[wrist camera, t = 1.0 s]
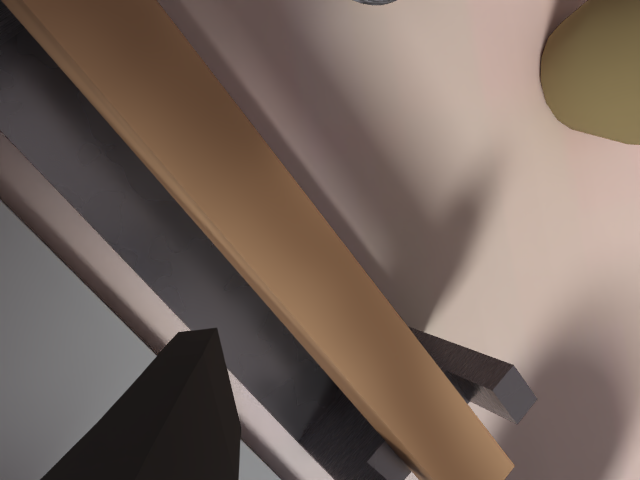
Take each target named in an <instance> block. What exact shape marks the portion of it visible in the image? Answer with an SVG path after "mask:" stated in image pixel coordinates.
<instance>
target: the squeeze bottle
mask: <svg viewBox="0 0 640 480" xmlns="http://www.w3.org/2000/svg"><path fill="white" fill-rule="evenodd" d="M541 84H542V88H543V92H544V96H545V100H546V103H547V105H548V106H549V108H550V109H551V111H552V112H553V114H554V115H555V117H556V118H557V120H558V121H560V122H561V123H563V124H564V125H566V126H567V127H569V128H570V129H572V130H576V131H580V132H584V133H587V134H591V135H595V136H599V137H602V138H606V139H610V140H614V141H618V142H621V143H625V144H634V145H640V0H588V1H586V2H585V3H584V4H583V5H582V6H581V7H579V8H578V9H577V10H576V11H575V12H573V13H572V14H571V15H570V16H569V17H567V18H566V19H565V20H564V21H563V22H562V23H560V25H559V26H558V27H557V28H556V29H555V30H554V32H553V33H552V34H551V35H550V36H549V37H548V40H547V43H546V46H545V49H544V52H543V54H542V57H541Z"/></svg>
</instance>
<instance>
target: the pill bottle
mask: <svg viewBox="0 0 640 480" xmlns="http://www.w3.org/2000/svg"><path fill="white" fill-rule="evenodd" d="M353 1H356V2H359V3H362V4H367V5H384V4H388V3H391V2H394V1H396V0H353Z"/></svg>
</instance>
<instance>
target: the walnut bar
mask: <svg viewBox="0 0 640 480" xmlns="http://www.w3.org/2000/svg"><path fill="white" fill-rule="evenodd" d="M1 1H2V2H3V3H4V4H5V5H6V6H7V8H8V9H9V10H10V11H11V12H12V13H13V14H14V16H15V17H16V18H17V19H18V20H19V21H20V22H21V24H22V25H23V26H24V27H25V28H26V29H27V30H28V32H29V33H30V34H31V35H32V36H33V37H34V39H35V40H36V41H37V42H38V43H39V44H40V45H41V47H42V48H43V49H44V50H45V51H46V52H47V53H48V55H49V56H50V57H51V58H52V59H53V60H54V61H55V63H56V64H57V65H58V66H59V67H60V68H61V69H62V71H63V72H64V73H65V74H66V75H67V76H68V78H69V79H70V80H71V81H72V82H73V83H74V84H75V86H76V87H77V88H78V89H79V90H80V91H81V92H82V94H83V95H84V96H85V97H86V98H87V99H88V100H89V102H90V103H91V104H92V105H93V106H94V107H95V108H96V110H97V111H98V112H99V113H100V114H101V115H102V117H103V118H104V119H105V120H106V121H107V122H108V123H109V125H110V126H111V127H112V128H113V129H114V130H115V131H116V133H117V134H118V135H119V136H120V137H121V138H122V139H123V141H124V142H125V143H126V144H127V145H128V146H129V147H130V149H131V150H132V151H133V152H134V153H135V154H136V156H137V157H138V158H139V159H140V160H141V161H142V162H143V164H144V165H145V166H146V167H147V168H148V169H149V170H150V172H151V173H152V174H153V175H154V176H155V177H156V178H157V180H158V181H159V182H160V183H161V184H162V185H163V186H164V188H165V189H166V190H167V191H168V192H169V193H170V195H171V196H172V197H173V198H174V199H175V200H176V201H177V203H178V204H179V205H180V206H181V207H182V208H183V209H184V211H185V212H186V213H187V214H188V215H189V216H190V217H191V219H192V220H193V221H194V222H195V223H196V224H197V225H198V227H199V228H200V229H201V230H202V231H203V232H204V234H205V235H206V236H207V237H208V238H209V239H210V240H211V242H212V243H213V244H214V245H215V246H216V247H217V248H218V250H219V251H220V252H221V253H222V254H223V255H224V256H225V258H226V259H227V260H228V261H229V262H230V263H231V264H232V266H233V267H234V268H235V269H236V270H237V271H238V273H239V274H240V275H241V276H242V277H243V278H244V279H245V281H246V282H247V283H248V284H249V285H250V286H251V287H252V289H253V290H254V291H255V292H256V293H257V294H258V295H259V297H260V298H261V299H262V300H263V301H264V302H265V303H266V305H267V306H268V307H269V308H270V309H271V310H272V312H273V313H274V314H275V315H276V316H277V317H278V318H279V320H280V321H281V322H282V323H283V324H284V325H285V326H286V328H287V329H288V330H289V331H290V332H291V333H292V334H293V336H294V337H295V338H296V339H297V340H298V341H299V342H300V344H301V345H302V346H303V347H304V348H305V349H306V351H307V352H308V353H309V354H310V355H311V356H312V357H313V359H314V360H315V361H316V362H317V363H318V364H319V365H320V367H321V368H322V369H323V370H324V371H325V372H326V373H327V375H328V376H329V377H330V378H331V379H332V380H333V381H334V383H335V384H336V385H337V386H338V387H339V388H340V390H341V391H342V392H343V393H344V394H345V395H346V396H347V398H348V399H349V400H350V401H351V402H352V403H353V404H354V406H355V407H356V408H357V409H358V410H359V411H360V412H361V414H362V415H363V416H364V417H365V418H366V419H367V420H368V422H369V423H370V424H371V425H372V426H373V427H374V429H375V430H376V431H377V432H378V433H379V434H380V435H381V437H382V438H383V439H384V440H385V441H386V442H387V443H388V445H389V446H390V447H391V448H392V449H393V450H394V451H395V453H396V454H397V455H398V456H399V457H400V458H401V459H402V461H403V462H404V463H405V464H406V465H407V466H408V468H409V469H410V470H411V471H412V472H413V473H414V474H415V476H416V477H417V478H418V479H419V480H504V479H505V478H506V477H507V476H508V474H509V473H510V472H511V470H512V469H513V468H514V466H515V465H514V464H513V463H512V461H511V460H510V459H509V458H508V456H507V455H506V454H505V452H504V451H503V450H502V448H501V447H500V446H499V445H498V443H497V442H496V441H495V439H494V438H493V437H492V435H491V434H490V433H489V432H488V430H487V429H486V428H485V426H484V425H483V424H482V422H481V421H480V420H479V419H478V417H477V416H476V415H475V413H474V412H473V411H472V409H471V408H470V407H469V406H468V404H467V403H466V402H465V400H464V399H463V398H462V396H461V395H460V394H459V393H458V391H457V390H456V389H455V387H454V386H453V385H452V383H451V382H450V381H449V380H448V378H447V377H446V376H445V374H444V373H443V372H442V370H441V369H440V368H439V367H438V365H437V364H436V363H435V361H434V360H433V359H432V357H431V356H430V355H429V354H428V352H427V351H426V350H425V348H424V347H423V346H422V344H421V343H420V342H419V341H418V339H417V338H416V337H415V335H414V334H413V333H412V332H411V330H410V329H409V328H408V326H407V325H406V324H405V322H404V321H403V320H402V319H401V317H400V316H399V315H398V313H397V312H396V311H395V309H394V308H393V307H392V306H391V304H390V303H389V302H388V300H387V299H386V298H385V296H384V295H383V294H382V293H381V291H380V290H379V289H378V287H377V286H376V285H375V283H374V282H373V281H372V280H371V278H370V277H369V276H368V274H367V273H366V272H365V270H364V269H363V268H362V267H361V265H360V264H359V263H358V261H357V260H356V259H355V257H354V256H353V255H352V254H351V252H350V251H349V250H348V248H347V247H346V246H345V244H344V243H343V242H342V241H341V239H340V238H339V237H338V235H337V234H336V233H335V231H334V230H333V229H332V228H331V226H330V225H329V224H328V222H327V221H326V220H325V218H324V217H323V216H322V215H321V213H320V212H319V211H318V209H317V208H316V207H315V205H314V204H313V203H312V202H311V200H310V199H309V198H308V196H307V195H306V194H305V192H304V191H303V190H302V189H301V187H300V186H299V185H298V183H297V182H296V181H295V179H294V178H293V177H292V176H291V174H290V173H289V172H288V170H287V169H286V168H285V166H284V165H283V164H282V163H281V161H280V160H279V159H278V157H277V156H276V155H275V153H274V152H273V151H272V150H271V148H270V147H269V146H268V144H267V143H266V142H265V140H264V139H263V138H262V137H261V135H260V134H259V133H258V131H257V130H256V129H255V127H254V126H253V125H252V124H251V122H250V121H249V120H248V118H247V117H246V116H245V114H244V113H243V112H242V111H241V109H240V108H239V107H238V105H237V104H236V103H235V101H234V100H233V99H232V98H231V96H230V95H229V94H228V92H227V91H226V90H225V88H224V87H223V86H222V85H221V83H220V82H219V81H218V79H217V78H216V77H215V75H214V74H213V73H212V72H211V70H210V69H209V68H208V66H207V65H206V64H205V62H204V61H203V60H202V59H201V57H200V56H199V55H198V53H197V52H196V51H195V50H194V48H193V47H192V46H191V44H190V43H189V42H188V40H187V39H186V38H185V37H184V35H183V34H182V33H181V31H180V30H179V29H178V27H177V26H176V25H175V24H174V22H173V21H172V20H171V18H170V17H169V16H168V14H167V13H166V12H165V11H164V9H163V8H162V7H161V5H160V4H159V3H158V1H157V0H1Z"/></svg>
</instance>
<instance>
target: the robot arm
mask: <svg viewBox="0 0 640 480" xmlns="http://www.w3.org/2000/svg"><path fill="white" fill-rule="evenodd" d="M240 437H241V426H240V421H239V417H238V413H237V409H236V405H235V401H234V396H233V392H232V388H231V384H230V380H229V375H228V371H227V367H226V363H225V359H224V354H223V350H222V346H221V342H220V338H219V333H218V329H217V328H209V329H201V330H193V331H184V332H178V333H177V335H176V336H175V337H174V338H173V339H172V340H171V341H170V342H169V343H168V344H167V345H166V346H165V347H164V349H163V350H162V351H161V352H160V353H159V354H158V355H157V357H156V358H155V359H154V360H153V361H152V362H151V363H150V364H149V366H148V367H147V368H146V369H145V370H144V371H143V372H142V374H141V375H140V376H139V377H138V378H137V379H136V380H135V381H134V383H133V384H132V385H131V386H130V387H129V388H128V389H127V390H126V391H125V392H124V394H123V395H122V396H121V397H120V398H119V399H118V400H117V401H116V402H115V403H114V405H113V406H112V407H111V408H110V409H109V410H108V411H107V412H106V413H105V414H104V415H103V417H102V418H101V419H100V420H99V421H98V422H97V423H96V424H95V425H94V426H93V427H92V428H91V429H90V430H89V431H88V432H87V433H86V434H85V435H84V436H83V437H82V438H81V439H80V440H79V441H78V442H77V443H76V444H75V445H74V446H73V447H72V448H71V449H70V450H69V451H68V452H67V453H66V454H65V455H64V456H63V457H62V458H61V459H60V460H59V461H58V462H57V463H56V464H55V465H54V466H53V467H52V468H51V469H50V470H49V471H48V472H47V473H46V474H45V475H44V476H43V477H42V478H41V479H40V480H239V463H240Z"/></svg>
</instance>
